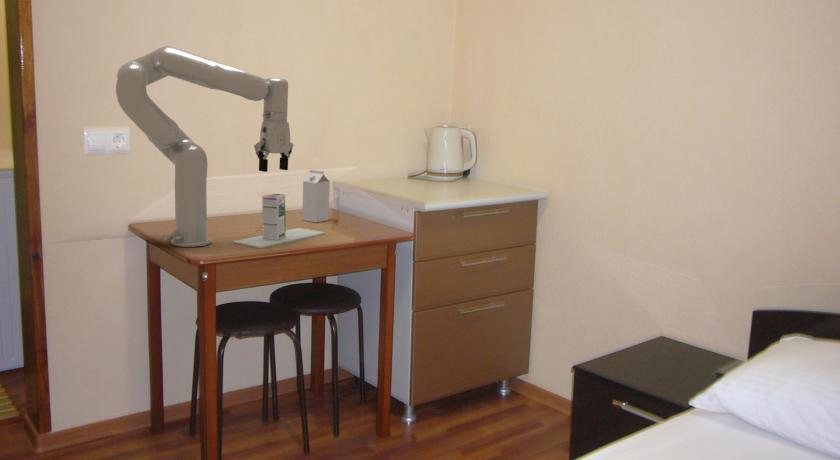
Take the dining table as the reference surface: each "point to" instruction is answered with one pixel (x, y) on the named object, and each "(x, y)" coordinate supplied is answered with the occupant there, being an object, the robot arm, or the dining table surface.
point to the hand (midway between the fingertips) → (273, 170)
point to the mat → (290, 236)
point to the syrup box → (273, 216)
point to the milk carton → (316, 197)
